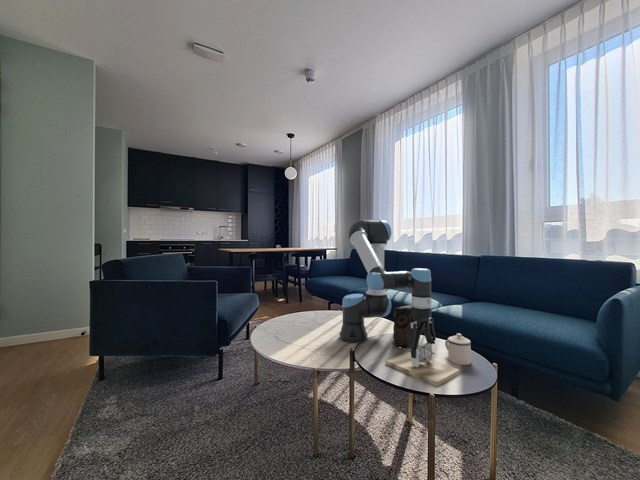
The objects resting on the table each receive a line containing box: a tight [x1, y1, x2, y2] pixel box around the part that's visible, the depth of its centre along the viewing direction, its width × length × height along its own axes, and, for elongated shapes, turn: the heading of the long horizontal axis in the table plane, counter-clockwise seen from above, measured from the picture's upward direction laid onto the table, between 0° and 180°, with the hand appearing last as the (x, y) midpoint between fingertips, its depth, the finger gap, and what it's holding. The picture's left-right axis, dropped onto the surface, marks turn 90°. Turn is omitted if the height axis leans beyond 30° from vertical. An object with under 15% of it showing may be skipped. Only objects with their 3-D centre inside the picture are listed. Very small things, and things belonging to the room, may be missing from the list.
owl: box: [392, 304, 415, 349], centre depth 135 cm, size 13×13×20 cm
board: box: [385, 351, 461, 387], centre depth 109 cm, size 23×16×2 cm
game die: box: [409, 341, 436, 364], centre depth 109 cm, size 9×8×10 cm
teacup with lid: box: [444, 332, 472, 366], centre depth 117 cm, size 12×9×12 cm
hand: (422, 362), depth 108 cm, fingers closed on game die, 9 cm apart
